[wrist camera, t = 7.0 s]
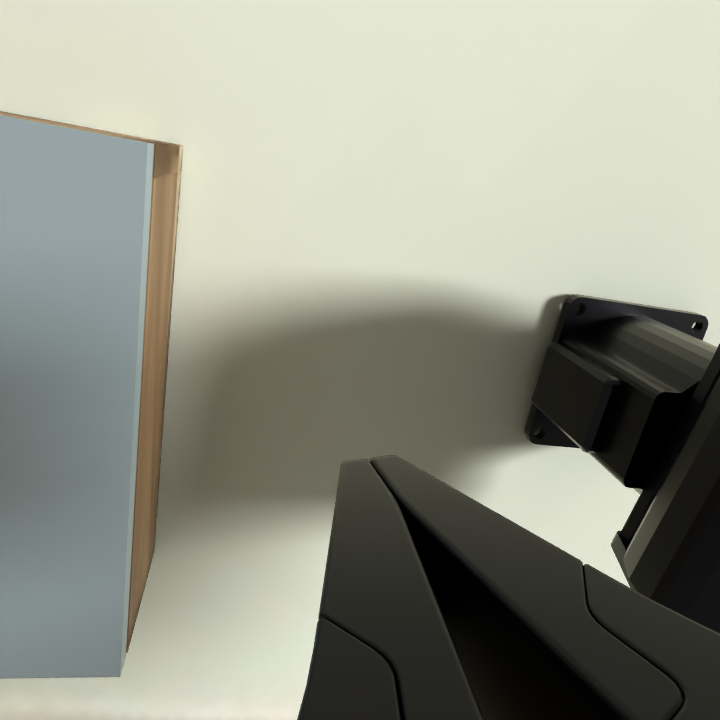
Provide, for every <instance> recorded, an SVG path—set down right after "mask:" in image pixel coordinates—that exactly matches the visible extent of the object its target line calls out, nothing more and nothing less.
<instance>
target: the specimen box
mask: <svg viewBox="0 0 720 720" xmlns="http://www.w3.org/2000/svg"><path fill="white" fill-rule="evenodd" d="M0 115H3V116H9V117H14V118H19V119H25V120H30V121H35V122H41V123H46V124H51V125H57V126H62V127H67V128H73V129H78V130H83V131H89V132H94V133H99V134H105V135H110V136H115V137H121V138H126V139H131V140H137V141H142V142H147V143H153V144H154V155H153V173H152V191H151V209H150V228H149V246H148V264H147V282H146V300H145V318H144V336H143V354H142V373H141V391H140V409H139V427H138V445H137V463H136V481H135V499H134V518H133V536H132V554H131V572H130V590H129V608H128V626H127V644H126V653H127V652H128V648H129V645H130V641H131V637H132V633H133V629H134V626H135V622H136V618H137V614H138V611H139V607H140V603H141V599H142V595H143V592H144V588H145V584H146V580H147V577H148V573H149V569H150V565H151V561H152V558H153V554H154V546H155V532H156V518H157V504H158V490H159V476H160V462H161V447H162V433H163V419H164V405H165V391H166V377H167V363H168V349H169V335H170V321H171V307H172V293H173V279H174V265H175V251H176V237H177V223H178V209H179V195H180V181H181V167H182V153H183V146H182V145H177V144H172V143H166V142H161V141H156V140H151V139H145V138H140V137H135V136H129V135H124V134H119V133H113V132H108V131H103V130H97V129H92V128H87V127H82V126H76V125H71V124H66V123H60V122H55V121H50V120H44V119H39V118H34V117H29V116H23V115H18V114H13V113H7V112H2V111H0Z"/></svg>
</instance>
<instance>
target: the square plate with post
mask: <svg viewBox="0 0 720 720" xmlns="http://www.w3.org/2000/svg"><path fill="white" fill-rule="evenodd" d="M153 155H154V144H153V143H147V142H142V141H137V140H131V139H126V138H121V137H115V136H110V135H105V134H99V133H94V132H89V131H83V130H78V129H73V128H67V127H62V126H57V125H51V124H46V123H41V122H35V121H30V120H25V119H19V118H14V117H9V116H3V115H0V679H2V678H74V677H120V676H121V672H122V668H123V664H124V661H125V657H126V644H127V626H128V608H129V590H130V572H131V554H132V536H133V518H134V499H135V481H136V463H137V445H138V427H139V409H140V391H141V373H142V354H143V336H144V318H145V300H146V282H147V264H148V246H149V228H150V209H151V191H152V173H153Z"/></svg>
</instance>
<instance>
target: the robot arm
mask: <svg viewBox="0 0 720 720" xmlns="http://www.w3.org/2000/svg"><path fill="white" fill-rule="evenodd" d="M579 303H580V309H579V310H578V311H577V312H576V313H574V307H575V306H576V305H577V304H579ZM695 322H696V324H695V326H694V328H692V325H693V324H694V323H695ZM707 327H708V320H707V318H706V317H705V316H702V315H700V314H697V313H694V312H687V311H681V310H674V309H668V308H661V307H655V306H648V305H642V304H636V303H629V302H623V301H616V300H610V299H603V298H597V297H590V296H584V295H572V296H570V297H569V298H568V299H567V300H566V301H565V303H564V305H563V307H562V311H561V314H560V317H559V320H558V324H557V327H556V330H555V333H554V336H553V340H552V343H551V344H550V345H549V347H548V349H547V352H546V355H545V359H544V362H543V365H542V368H541V371H540V375H539V378H538V381H537V384H536V388H535V391H534V394H533V397H532V401H533V404H532V407H531V411H530V414H529V417H528V420H527V424H526V427H525V435H526V437H527V438H528V439H529V440H530V441H531V442H532V443H534V444H539V445H550V446H562V447H573V448H581V449H582V450H583V451H584V452H588V453H589V454H590V455H592V456H593V457H594V458H595V459H596V460H597V461H598V462H599V463H600V464H601V465H602V466H603V467H605V468H606V469H607V470H608V471H609V472H610V473H611V474H612V475H613V476H614V477H615V478H617V479H618V480H619V481H620V482H621V483H622V484H623V485H624V486H625V487H628V488H633V489H634V490H636V491H637V492H638V493H639V494H640V497H639V498H638V500H637V502H636V504H635V506H634V508H633V510H632V512H631V514H630V516H629V518H628V519H627V521H626V523H625V525H624V527H623V529H622V531H618V532H617V533H616V535H615V537H614V539H613V541H612V543H611V547H612V549H613V551H614V553H615V555H616V557H617V560H618V562H619V564H620V566H621V568H622V571H623V573H624V575H625V577H626V579H627V581H628V584H629V586H630V588H629V587H627V586H626V585H624V584H622V583H620V582H618V581H616V580H614V579H613V578H611V577H609V576H607V575H606V574H604V573H602V572H600V571H599V570H597V569H595V568H593V567H592V566H590V565H588V564H585V565H583V564H582V562H581V560H579V559H577V558H575V557H574V556H572V555H570V554H568V553H567V552H565V551H563V550H561V549H560V548H558V547H556V546H554V545H553V544H551V543H549V542H547V541H546V540H544V539H542V538H540V537H538V536H537V535H535V534H533V533H531V532H530V531H528V530H526V529H524V528H523V527H521V526H519V525H517V524H516V523H514V522H512V521H510V520H509V519H507V518H505V517H503V516H502V515H500V514H498V513H496V512H495V511H493V510H491V509H489V508H488V507H486V506H484V505H482V504H480V503H479V502H477V501H475V500H473V499H472V498H470V497H468V496H466V495H465V494H463V493H461V492H459V491H458V490H456V489H454V488H452V487H451V486H449V485H447V484H445V483H444V482H442V481H440V480H438V479H437V478H435V477H433V476H431V475H430V474H428V473H426V472H424V471H422V470H421V469H419V468H417V467H415V466H414V465H412V464H410V463H408V462H407V461H405V460H403V459H401V458H400V457H398V456H396V455H388V456H381V457H374V458H371V459H370V460H369V461H368V460H367V459H359V460H352V461H345V462H343V463H342V464H341V468H340V475H339V482H338V489H337V495H336V502H335V509H334V516H333V522H332V529H331V536H330V543H329V549H328V556H327V563H326V570H325V577H324V583H323V590H322V597H321V604H320V610H319V621H318V622H317V628H316V635H315V642H314V649H313V654H312V659H311V664H310V669H309V675H308V680H307V685H306V689H305V693H304V696H303V700H302V704H301V707H300V711H299V715H298V719H297V720H720V344H719V346H718V347H716V346H713V345H711V344H709V343H707V342H704V341H702V340H703V338H704V335H705V333H706V330H707ZM538 429H541V431H540V432H539V433H538V434H536V435H534V433H535V431H536V430H538Z"/></svg>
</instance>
